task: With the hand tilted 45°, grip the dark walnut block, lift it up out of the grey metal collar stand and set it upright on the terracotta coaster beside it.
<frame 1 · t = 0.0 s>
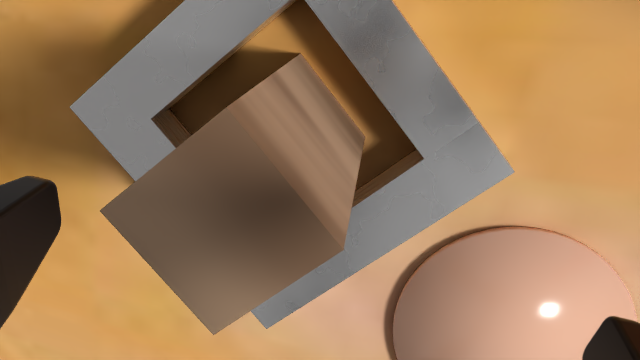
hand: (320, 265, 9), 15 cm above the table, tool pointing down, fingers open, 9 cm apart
metal collar stand: (293, 126, 24), on the table
walnut block: (266, 164, 19), in the metal collar stand
terracotta coaster: (509, 332, 26), on the table
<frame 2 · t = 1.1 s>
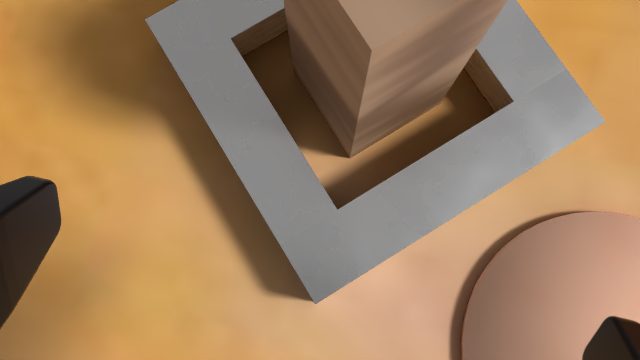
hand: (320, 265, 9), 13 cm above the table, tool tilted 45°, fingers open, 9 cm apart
metal collar stand: (366, 87, 24), on the table
walnut block: (378, 30, 18), in the metal collar stand
terracotta coaster: (602, 353, 22), on the table
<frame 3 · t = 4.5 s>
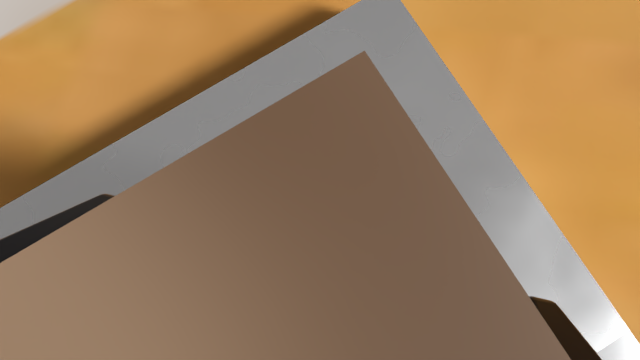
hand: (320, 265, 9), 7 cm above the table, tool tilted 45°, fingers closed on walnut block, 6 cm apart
metal collar stand: (309, 323, 15), on the table
walnut block: (302, 345, 10), in the metal collar stand, touching gripper
when the fingers open (8 cm above the table, at t = 10.3 s): walnut block stays where it is, resting on terracotta coaster.
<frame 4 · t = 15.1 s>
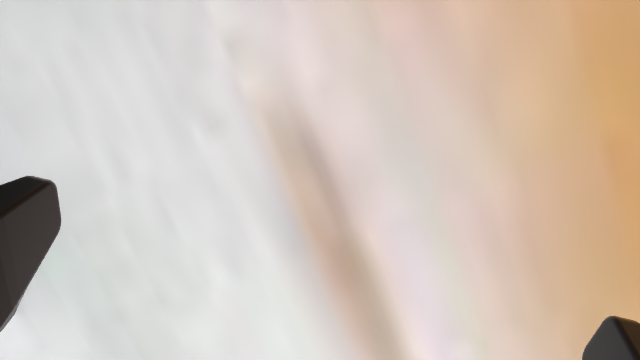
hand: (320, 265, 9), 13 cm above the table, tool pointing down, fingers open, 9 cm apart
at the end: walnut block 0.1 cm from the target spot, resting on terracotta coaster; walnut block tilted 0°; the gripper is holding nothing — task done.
